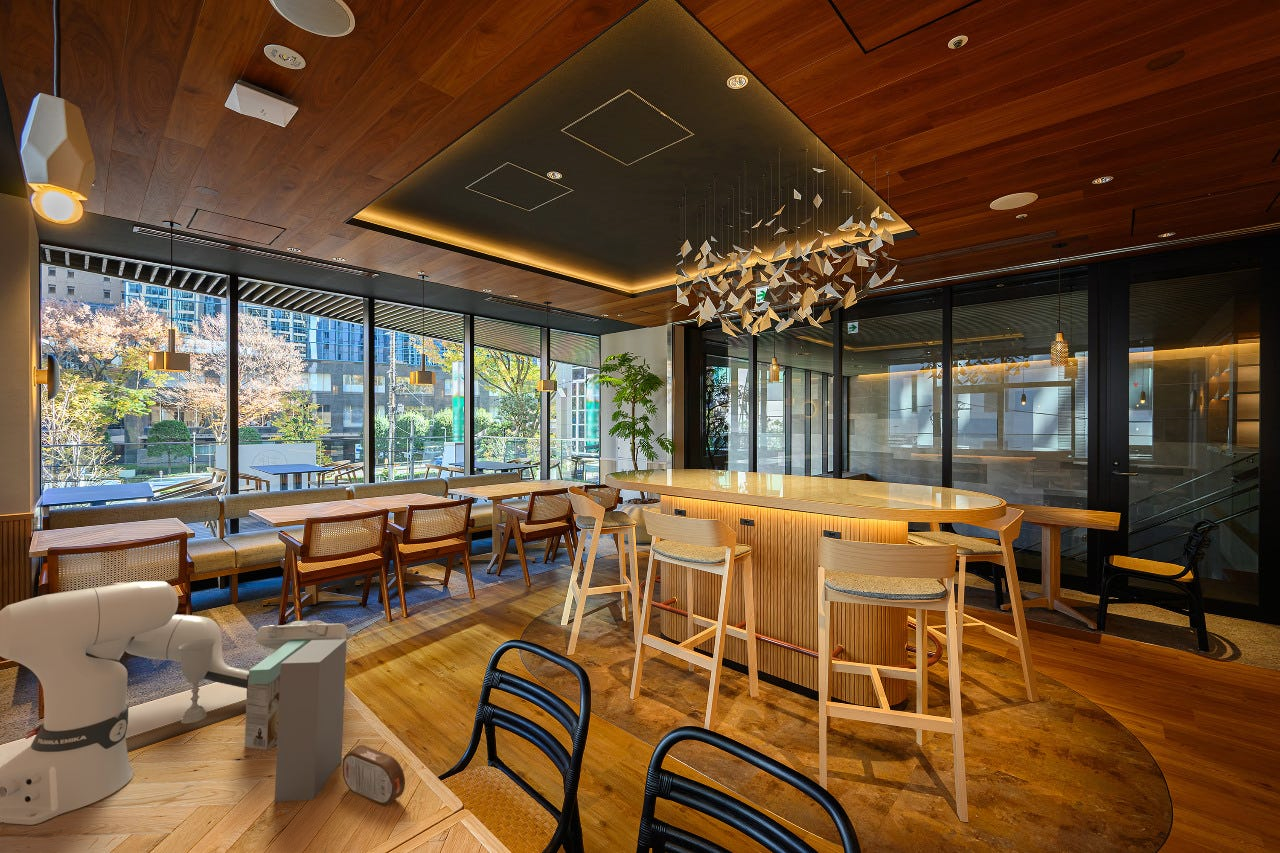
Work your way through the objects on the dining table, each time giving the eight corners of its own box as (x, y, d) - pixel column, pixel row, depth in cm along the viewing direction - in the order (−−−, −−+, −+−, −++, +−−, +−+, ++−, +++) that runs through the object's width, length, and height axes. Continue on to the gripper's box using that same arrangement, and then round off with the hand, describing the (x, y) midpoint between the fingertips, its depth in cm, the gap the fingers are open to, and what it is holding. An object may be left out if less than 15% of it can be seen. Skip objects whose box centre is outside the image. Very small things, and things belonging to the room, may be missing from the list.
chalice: (194, 726, 124) (198, 650, 125) (166, 725, 124) (170, 649, 125) (219, 710, 132) (223, 638, 132) (193, 710, 132) (197, 638, 132)
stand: (274, 802, 99) (280, 663, 100) (306, 763, 111) (312, 640, 112) (313, 799, 100) (319, 662, 101) (341, 761, 112) (346, 639, 113)
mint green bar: (248, 684, 112) (249, 670, 112) (290, 651, 130) (291, 639, 130) (268, 683, 113) (269, 669, 113) (308, 651, 131) (308, 638, 131)
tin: (405, 803, 99) (407, 758, 100) (391, 813, 96) (393, 767, 97) (352, 780, 106) (354, 738, 106) (338, 790, 103) (339, 746, 103)
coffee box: (278, 726, 125) (282, 658, 126) (301, 729, 124) (304, 661, 125) (242, 747, 116) (246, 674, 117) (266, 751, 115) (270, 677, 116)
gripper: (352, 649, 138) (332, 639, 126) (269, 653, 135) (240, 643, 123) (358, 625, 141) (338, 612, 129) (276, 628, 138) (249, 616, 127)
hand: (290, 627), depth 126 cm, fingers open, 8 cm apart
